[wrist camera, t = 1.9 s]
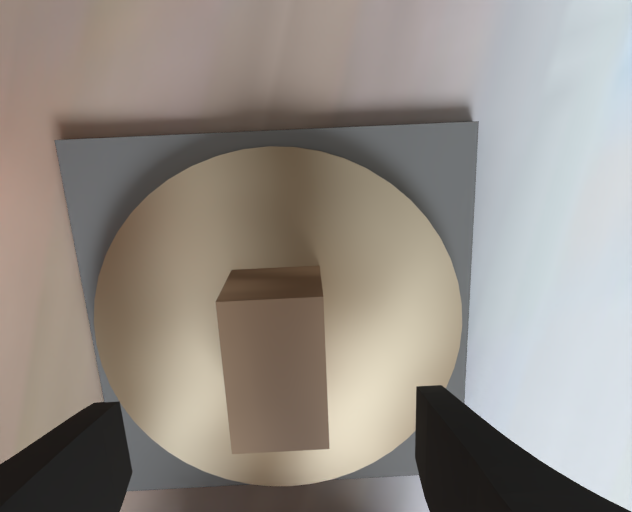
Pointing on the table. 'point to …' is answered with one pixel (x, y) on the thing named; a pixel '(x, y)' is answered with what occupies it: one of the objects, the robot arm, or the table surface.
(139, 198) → the mat
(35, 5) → the table surface
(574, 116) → the table surface
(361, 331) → the lid
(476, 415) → the robot arm
